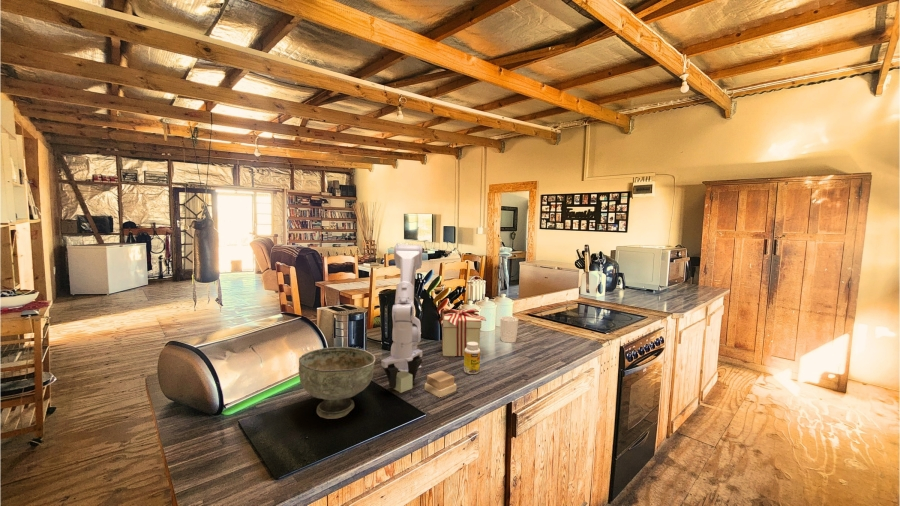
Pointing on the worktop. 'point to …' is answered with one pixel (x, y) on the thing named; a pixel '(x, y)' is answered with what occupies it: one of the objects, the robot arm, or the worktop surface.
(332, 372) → the bowl
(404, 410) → the worktop surface
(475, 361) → the supplement bottle
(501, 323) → the beige speckled cup
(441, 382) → the top slab
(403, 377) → the cube
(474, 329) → the gift box
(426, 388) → the bottom slab
